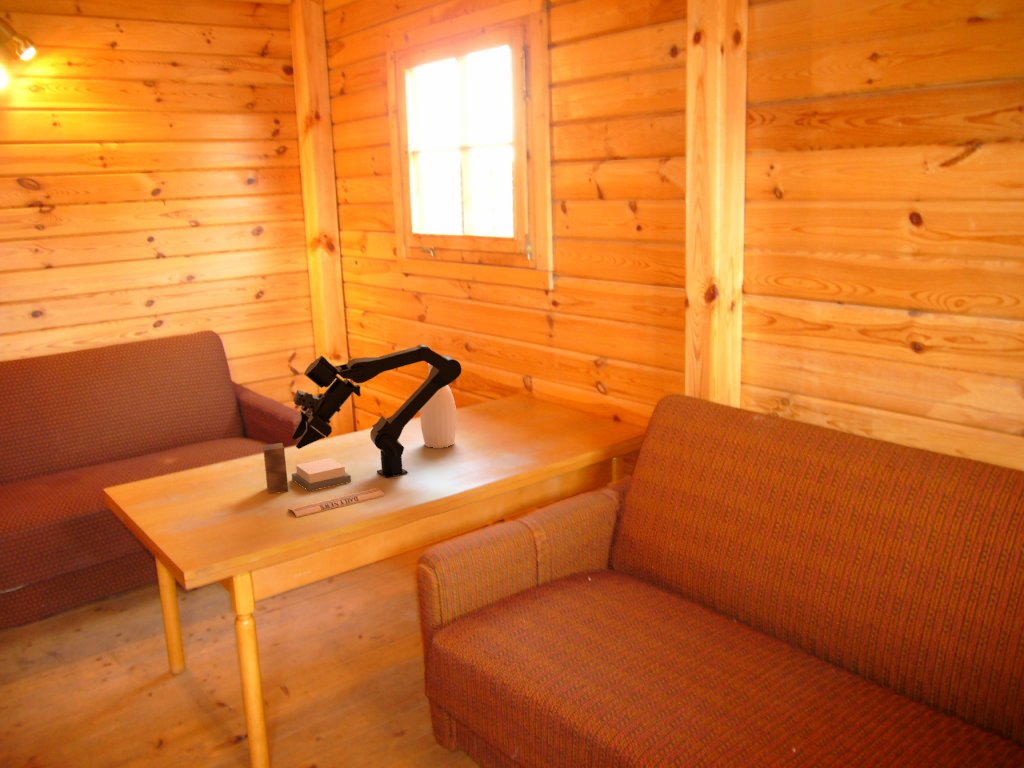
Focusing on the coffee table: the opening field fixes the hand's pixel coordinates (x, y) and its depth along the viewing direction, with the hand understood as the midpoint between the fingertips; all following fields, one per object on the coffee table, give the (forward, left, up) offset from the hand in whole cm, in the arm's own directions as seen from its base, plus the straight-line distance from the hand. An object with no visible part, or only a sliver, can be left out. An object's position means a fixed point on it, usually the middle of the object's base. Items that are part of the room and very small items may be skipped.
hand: (295, 443), depth 236 cm
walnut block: (+1, +5, -12) cm, 13 cm away
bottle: (+8, -49, -12) cm, 51 cm away
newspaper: (-19, -3, -13) cm, 23 cm away
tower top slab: (0, -7, -10) cm, 12 cm away
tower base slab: (0, -7, -13) cm, 14 cm away
